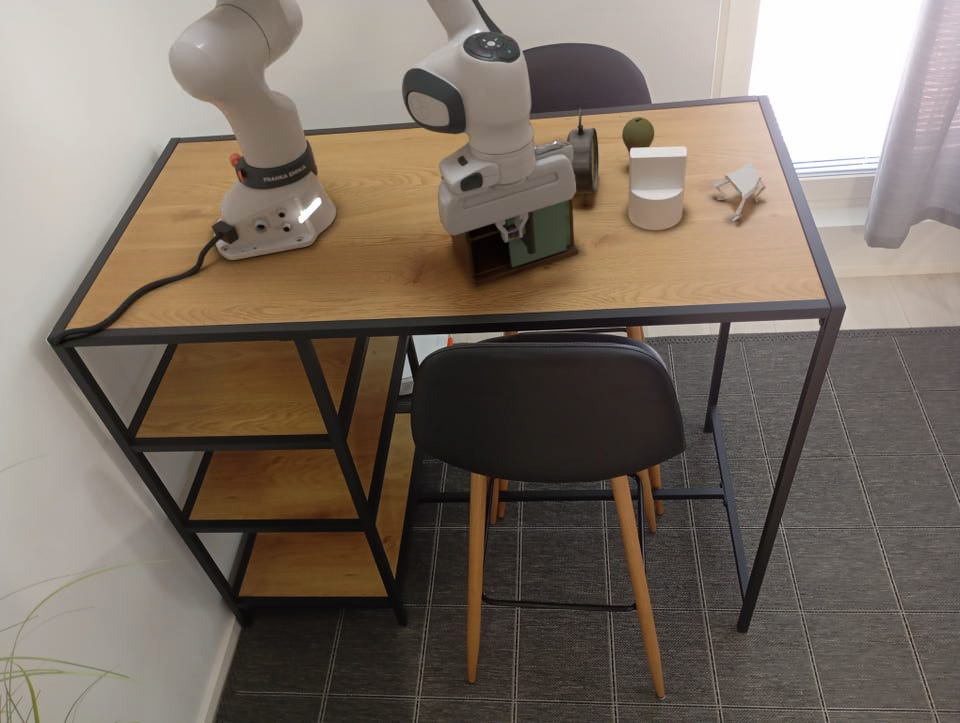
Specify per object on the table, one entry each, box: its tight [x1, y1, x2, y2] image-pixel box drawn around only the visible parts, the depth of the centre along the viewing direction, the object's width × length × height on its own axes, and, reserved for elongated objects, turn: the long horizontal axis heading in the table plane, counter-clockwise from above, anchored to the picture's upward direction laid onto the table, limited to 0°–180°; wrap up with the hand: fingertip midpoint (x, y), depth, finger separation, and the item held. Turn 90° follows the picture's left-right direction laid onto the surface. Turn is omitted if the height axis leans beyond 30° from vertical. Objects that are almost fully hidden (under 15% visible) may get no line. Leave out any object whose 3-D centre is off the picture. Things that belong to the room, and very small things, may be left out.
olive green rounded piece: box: [621, 116, 655, 157], centre depth 142 cm, size 6×6×10 cm
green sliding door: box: [506, 202, 566, 267], centre depth 123 cm, size 10×5×12 cm, turn 110°
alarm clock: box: [566, 107, 600, 208], centre depth 136 cm, size 11×5×16 cm, turn 168°
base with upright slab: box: [627, 145, 688, 231], centre depth 131 cm, size 9×9×12 cm
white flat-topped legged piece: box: [712, 161, 767, 222], centre depth 132 cm, size 12×8×5 cm
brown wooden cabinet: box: [440, 174, 579, 287], centre depth 127 cm, size 18×12×15 cm, turn 110°
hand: (512, 237), depth 119 cm, fingers closed
